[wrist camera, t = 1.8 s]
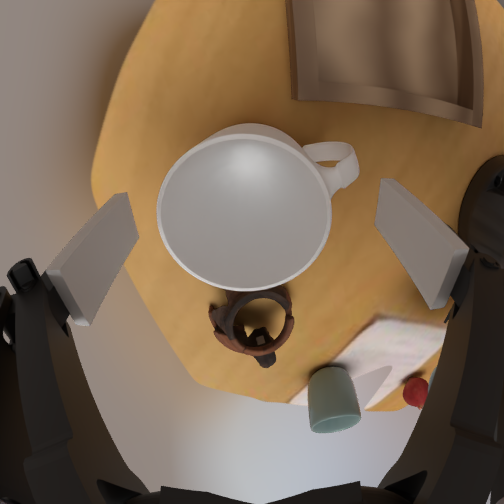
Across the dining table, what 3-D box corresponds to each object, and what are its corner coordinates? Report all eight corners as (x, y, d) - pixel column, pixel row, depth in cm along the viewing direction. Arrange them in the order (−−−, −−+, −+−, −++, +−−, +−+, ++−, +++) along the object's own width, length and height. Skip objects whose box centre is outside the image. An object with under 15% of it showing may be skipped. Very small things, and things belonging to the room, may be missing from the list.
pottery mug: (190, 290, 32) (198, 314, 24) (257, 252, 34) (285, 264, 26) (235, 362, 35) (253, 396, 28) (293, 326, 37) (323, 352, 30)
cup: (340, 383, 44) (349, 430, 36) (299, 384, 44) (304, 434, 35) (356, 359, 40) (369, 412, 31) (311, 360, 39) (319, 417, 31)
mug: (226, 223, 27) (207, 310, 16) (185, 141, 22) (125, 183, 12) (342, 181, 24) (396, 248, 14) (310, 91, 20) (358, 86, 10)
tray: (447, -24, 9) (466, -30, 6) (459, 120, 19) (481, 128, 16) (277, -65, 10) (280, -83, 7) (291, 98, 20) (298, 100, 17)
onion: (425, 366, 43) (437, 398, 37) (421, 378, 46) (431, 408, 40) (400, 376, 44) (410, 409, 38) (397, 387, 47) (406, 418, 41)
